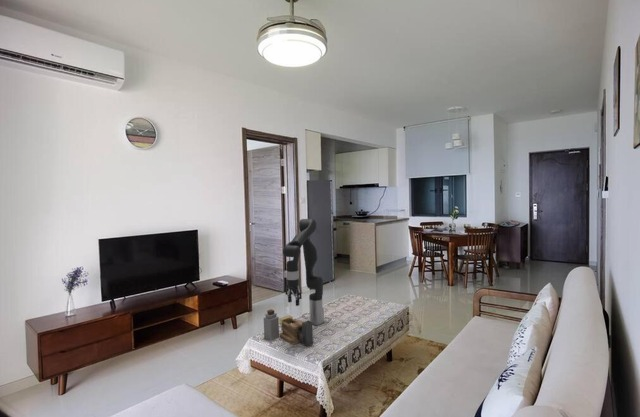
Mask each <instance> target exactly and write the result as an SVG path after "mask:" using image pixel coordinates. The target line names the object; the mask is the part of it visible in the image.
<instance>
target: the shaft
mask: <svg viewBox="0 0 640 417" xmlns="http://www.w3.org/2000/svg"><path fill="white" fill-rule="evenodd" d="M290 324H292V323H290ZM280 326H281V327H280V328H281V331H282V325H280ZM313 326H314V325H313V324H312V322H311V321H310V320H306V321H303V322H302V329H301V328H297V338H298V339H299V340H301V341H300V342H302V345H303V346H305V347H309V346H311V345H313V344H314V330H313Z"/></svg>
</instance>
